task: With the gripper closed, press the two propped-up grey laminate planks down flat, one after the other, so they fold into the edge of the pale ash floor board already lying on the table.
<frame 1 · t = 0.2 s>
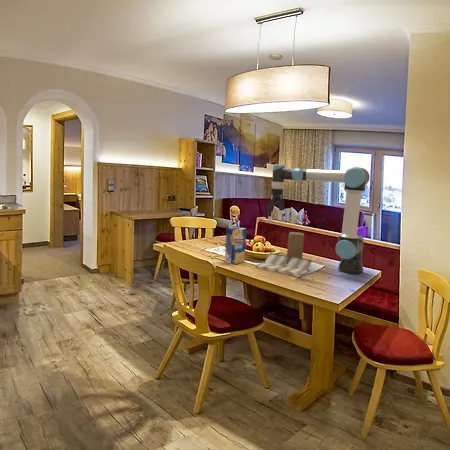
hand: (274, 220, 263), 28 cm above the table, fingers open, 13 cm apart
wooden block: (294, 263, 268), on the table
plank b: (276, 260, 256), point 4 cm above the table, hinge at 35.0°
plank a: (298, 264, 248), point 4 cm above the table, hinge at 35.0°
laid board: (285, 268, 250), on the table
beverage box: (234, 262, 260), on the table
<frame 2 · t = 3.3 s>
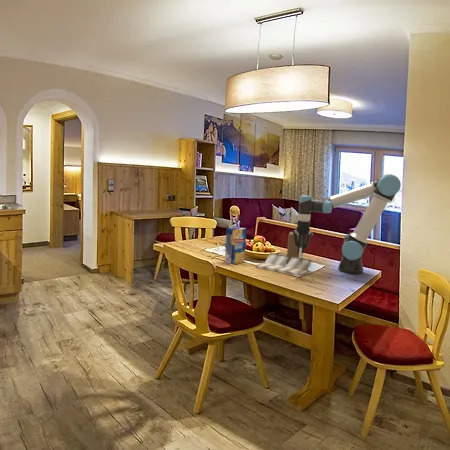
hand: (300, 257, 250), 7 cm above the table, fingers closed
plank a: (298, 264, 248), point 4 cm above the table, hinge at 35.0°, touching gripper
everything else where it was.
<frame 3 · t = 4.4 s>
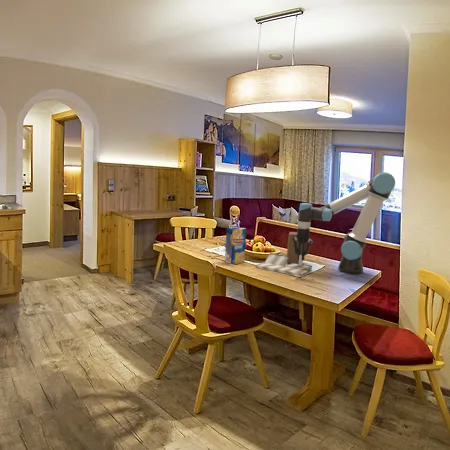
hand: (300, 265, 251), 2 cm above the table, fingers closed
plank a: (299, 267, 250), point 1 cm above the table, hinge at 3.6°, touching gripper
everything else where it was.
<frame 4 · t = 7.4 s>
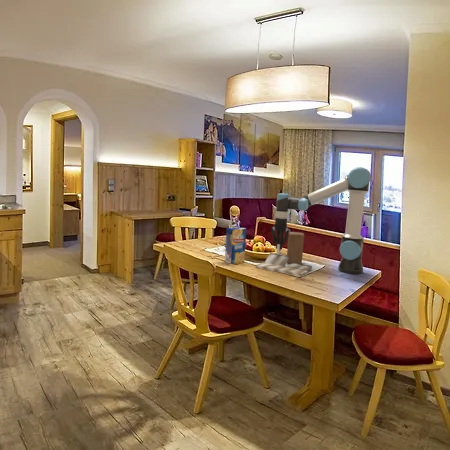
hand: (278, 254, 257), 7 cm above the table, fingers closed
plank b: (276, 260, 256), point 4 cm above the table, hinge at 35.0°, touching gripper
plank a: (299, 267, 250), point 1 cm above the table, hinge at 3.2°
everything else where it was.
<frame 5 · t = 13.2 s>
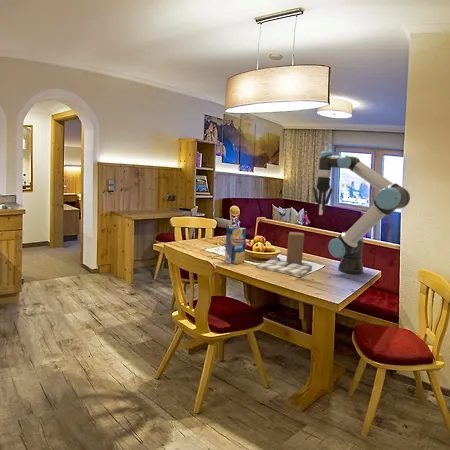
hand: (320, 214, 252), 34 cm above the table, fingers closed
plank b: (277, 263, 258), point 1 cm above the table, hinge at 2.9°
everything else where it was.
at the end: plank a at +3° (first picture: +35°); plank b at +3° (first picture: +35°) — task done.
